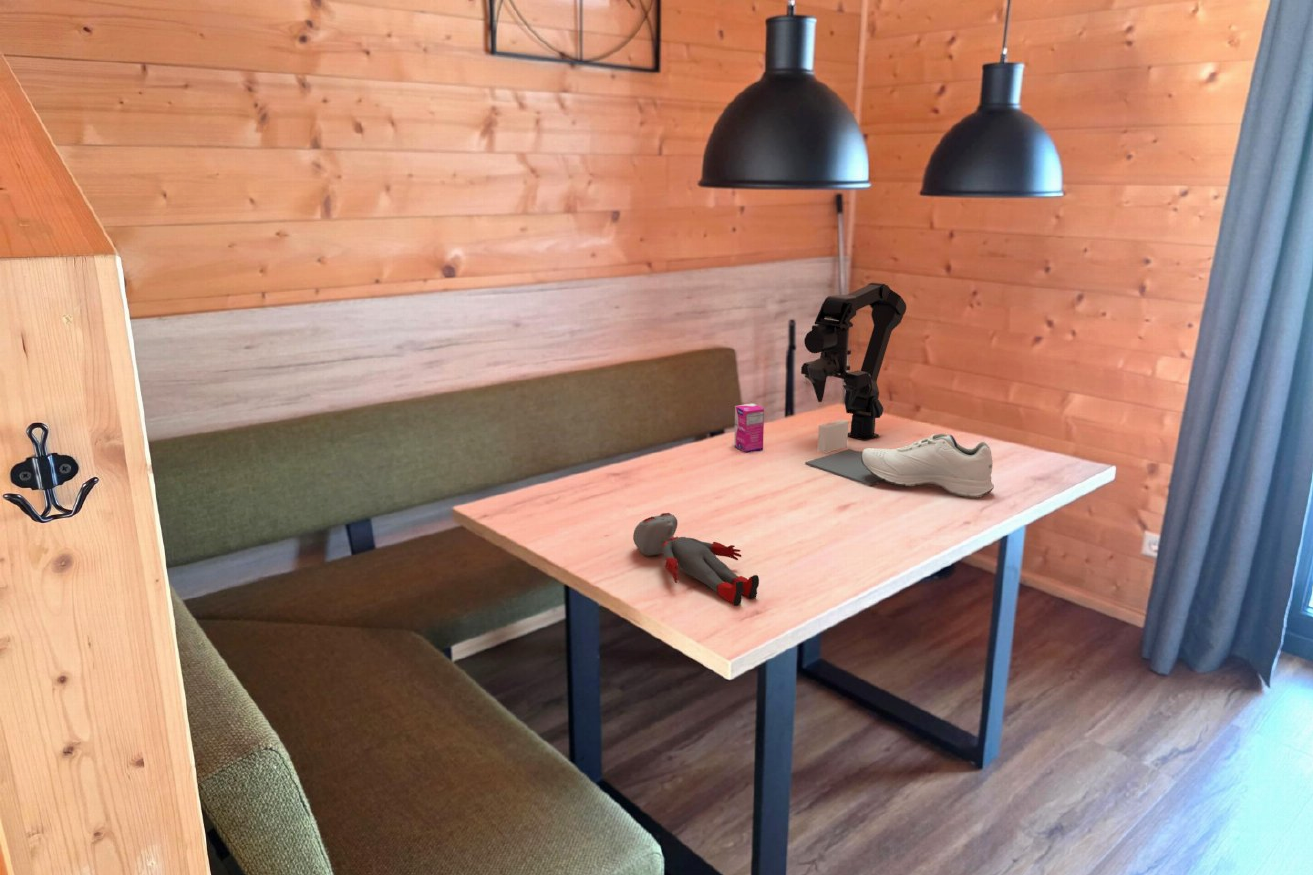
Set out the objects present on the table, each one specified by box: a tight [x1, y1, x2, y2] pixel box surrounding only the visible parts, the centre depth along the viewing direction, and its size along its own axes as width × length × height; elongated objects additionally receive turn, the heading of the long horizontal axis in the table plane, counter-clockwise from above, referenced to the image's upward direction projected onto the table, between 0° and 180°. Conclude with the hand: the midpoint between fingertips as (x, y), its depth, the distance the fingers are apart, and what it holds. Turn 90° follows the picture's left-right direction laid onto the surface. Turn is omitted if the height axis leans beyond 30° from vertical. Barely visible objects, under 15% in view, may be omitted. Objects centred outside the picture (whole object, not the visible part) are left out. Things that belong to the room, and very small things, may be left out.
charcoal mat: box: [804, 448, 885, 487], centre depth 226 cm, size 17×20×1 cm
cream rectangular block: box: [816, 419, 850, 454], centre depth 240 cm, size 9×3×7 cm, turn 129°
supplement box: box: [733, 402, 765, 454], centre depth 239 cm, size 6×6×12 cm
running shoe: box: [861, 433, 995, 499], centre depth 212 cm, size 11×30×13 cm, turn 72°
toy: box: [632, 512, 760, 607], centre depth 170 cm, size 16×10×30 cm
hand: (833, 405), depth 237 cm, fingers open, 9 cm apart
